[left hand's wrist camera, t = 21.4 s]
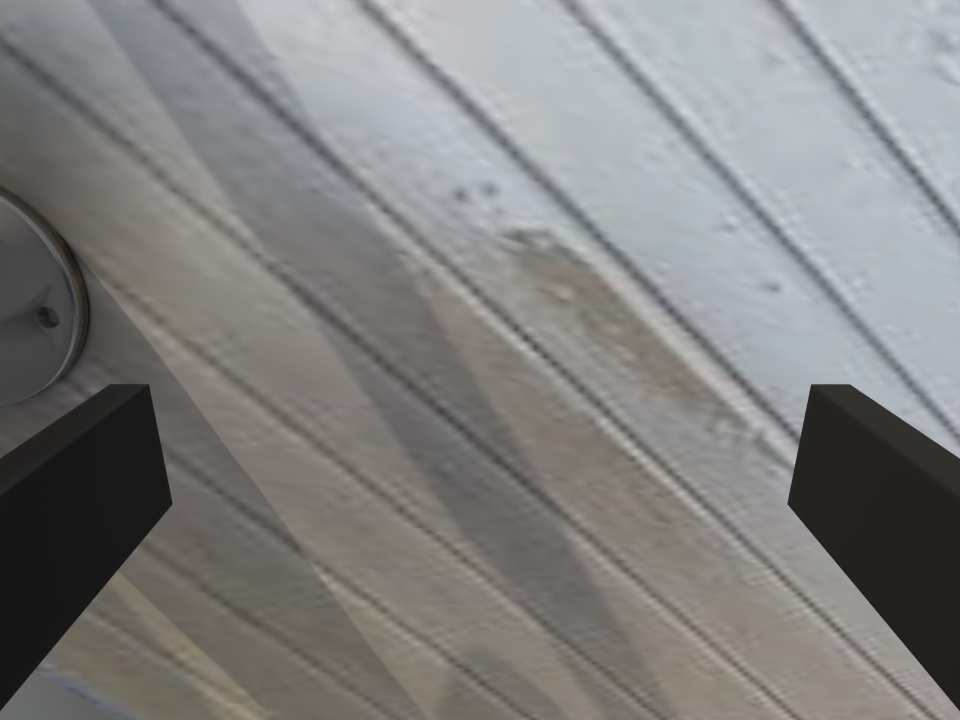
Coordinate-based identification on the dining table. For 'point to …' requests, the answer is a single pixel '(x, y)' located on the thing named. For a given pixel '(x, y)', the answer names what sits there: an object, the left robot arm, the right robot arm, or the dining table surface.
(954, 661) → the left robot arm
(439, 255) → the dining table surface
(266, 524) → the dining table surface
